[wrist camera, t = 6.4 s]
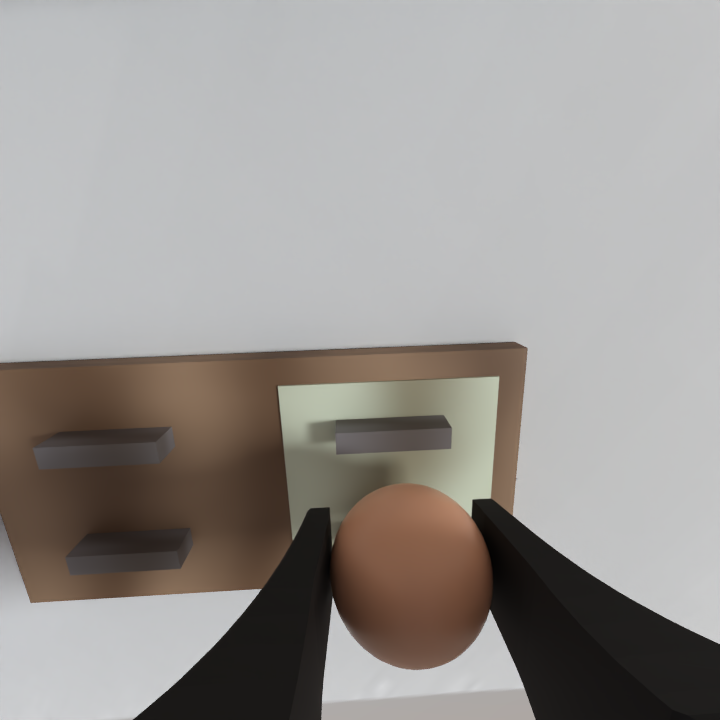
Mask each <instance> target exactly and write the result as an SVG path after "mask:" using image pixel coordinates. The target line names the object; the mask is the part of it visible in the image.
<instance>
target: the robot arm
mask: <svg viewBox="0 0 720 720" xmlns="http://www.w3.org/2000/svg"><path fill="white" fill-rule="evenodd" d="M471 518H472V519H473V520H474V522H475V523H476V525H477V527H478V528H479V530H480V532H481V534H482V536H483V538H484V540H485V543H486V545H487V548H488V551H489V555H490V559H491V564H492V570H493V594H492V602H491V606H490V610H491V612H492V614H493V617H494V619H495V621H496V623H497V626H498V628H499V630H500V632H501V634H502V637H503V639H504V641H505V643H506V645H507V648H508V650H509V652H510V654H511V657H512V659H513V661H514V663H515V665H516V668H517V670H518V673H519V675H520V678H521V680H522V682H523V685H524V688H525V691H526V693H527V696H528V699H529V702H530V705H531V707H532V710H533V713H534V716H535V718H536V720H720V644H718V643H716V642H714V641H712V640H709V639H707V638H705V637H703V636H701V635H699V634H697V633H695V632H692V631H690V630H688V629H686V628H684V627H682V626H680V625H678V624H676V623H674V622H672V621H670V620H668V619H666V618H664V617H663V616H661V615H659V614H657V613H655V612H653V611H652V610H650V609H648V608H646V607H644V606H642V605H641V604H639V603H637V602H635V601H633V600H632V599H630V598H628V597H626V596H625V595H623V594H621V593H619V592H618V591H616V590H615V589H613V588H611V587H610V586H608V585H607V584H605V583H603V582H602V581H600V580H599V579H597V578H595V577H594V576H592V575H591V574H589V573H588V572H586V571H585V570H583V569H582V568H580V567H579V566H577V565H576V564H575V563H573V562H572V561H570V560H569V559H568V558H566V557H565V556H563V555H562V554H561V553H559V552H558V551H556V550H555V549H554V548H552V547H551V546H550V545H548V544H547V543H546V542H545V541H543V540H542V539H541V538H539V537H538V536H537V535H536V534H534V533H533V532H532V531H531V530H529V529H528V528H527V527H526V526H524V525H523V524H522V523H521V522H520V521H518V520H517V519H516V518H515V517H514V516H512V515H511V514H510V513H509V512H508V511H506V510H505V509H504V508H503V507H501V506H500V505H499V504H498V503H497V502H495V501H494V500H493V499H491V498H489V499H472V515H471ZM331 552H332V534H331V518H330V507H324V508H310V509H309V510H308V511H307V513H306V516H305V518H304V520H303V522H302V524H301V526H300V528H299V530H298V532H297V534H296V536H295V538H294V540H293V542H292V543H291V545H290V547H289V548H288V550H287V552H286V553H285V555H284V557H283V558H282V560H281V562H280V563H279V565H278V566H277V568H276V569H275V571H274V572H273V574H272V575H271V577H270V578H269V580H268V581H267V583H266V584H265V585H264V587H263V588H262V590H261V591H260V592H259V594H258V595H257V596H256V598H255V599H254V600H253V601H252V603H251V604H250V605H249V607H248V608H247V609H246V610H245V612H244V613H243V614H242V615H241V616H240V617H239V619H238V620H237V621H236V622H235V623H234V624H233V625H232V627H231V628H230V629H229V630H228V631H227V632H226V634H225V635H224V636H223V637H222V638H221V639H220V640H219V641H218V642H217V643H216V644H215V645H214V646H213V648H212V649H211V650H210V651H209V652H207V653H206V654H205V655H204V656H203V657H202V658H201V659H200V660H199V661H198V662H197V663H196V664H195V665H194V666H193V667H192V668H191V669H190V670H189V671H188V672H187V673H186V674H185V675H184V676H183V677H182V678H181V679H180V680H179V681H178V682H177V683H176V684H174V685H173V686H172V687H171V688H170V689H169V690H168V691H166V692H165V693H164V694H163V695H162V696H161V697H159V698H158V699H157V700H156V701H155V702H154V703H152V704H151V705H150V706H149V707H148V708H146V709H145V710H144V711H143V712H142V713H141V714H139V715H138V716H137V717H136V718H135V719H133V720H321V710H322V691H323V678H324V669H325V660H326V651H327V642H328V633H329V624H330V615H331V606H332V597H333V594H332V588H331V582H330V559H331Z"/></svg>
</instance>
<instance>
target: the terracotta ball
mask: <svg viewBox="0 0 720 720" xmlns="http://www.w3.org/2000/svg"><path fill="white" fill-rule="evenodd" d="M330 582H331V588H332V594H333V598H334V601H335V604H336V607H337V610H338V613H339V615H340V617H341V619H342V621H343V623H344V624H345V626H346V628H347V630H348V631H349V632H350V634H351V635H352V636H353V637H354V639H355V640H356V641H357V642H358V643H359V644H360V645H361V646H362V647H363V648H364V649H365V650H366V651H368V652H369V653H370V654H372V655H373V656H374V657H376V658H377V659H379V660H381V661H383V662H385V663H388V664H390V665H393V666H395V667H399V668H403V669H411V670H422V669H430V668H434V667H438V666H441V665H444V664H446V663H448V662H450V661H452V660H454V659H455V658H457V657H458V656H460V655H461V654H462V653H463V652H464V651H465V650H466V649H467V648H468V647H469V646H470V645H471V644H472V643H473V642H474V641H475V639H476V638H477V636H478V635H479V633H480V632H481V630H482V628H483V626H484V624H485V622H486V619H487V616H488V613H489V610H490V606H491V602H492V594H493V570H492V564H491V559H490V555H489V551H488V548H487V545H486V543H485V540H484V538H483V536H482V534H481V532H480V530H479V528H478V527H477V525H476V523H475V522H474V520H473V519H472V518H471V517H470V515H469V514H468V513H467V512H466V511H465V510H464V509H463V508H462V507H461V506H460V505H459V504H458V503H457V502H456V501H454V500H453V499H452V498H450V497H449V496H447V495H446V494H444V493H442V492H440V491H438V490H436V489H433V488H431V487H428V486H424V485H420V484H413V483H400V484H392V485H388V486H385V487H382V488H379V489H377V490H375V491H373V492H371V493H369V494H368V495H366V496H365V497H363V498H362V499H361V500H360V501H359V502H357V503H356V505H355V506H354V507H353V508H352V509H351V510H350V511H349V512H348V514H347V515H346V517H345V518H344V520H343V521H342V523H341V525H340V527H339V529H338V531H337V534H336V537H335V540H334V543H333V546H332V552H331V559H330Z"/></svg>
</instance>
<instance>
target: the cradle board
mask: <svg viewBox="0 0 720 720" xmlns="http://www.w3.org/2000/svg"><path fill="white" fill-rule="evenodd" d="M527 349H528V348H526V347H524V346H522V345H520V344H518V343H516V342H506V343H481V344H457V345H433V346H408V347H384V348H360V349H335V350H311V351H286V352H262V353H238V354H213V355H189V356H164V357H140V358H116V359H91V360H67V361H42V362H18V363H0V513H1V516H2V519H3V522H4V525H5V528H6V531H7V534H8V537H9V540H10V543H11V546H12V549H13V552H14V555H15V558H16V561H17V564H18V566H19V569H20V572H21V575H22V578H23V581H24V584H25V587H26V590H27V593H28V596H29V599H30V602H31V603H36V602H52V601H68V600H85V599H101V598H118V597H134V596H150V595H167V594H183V593H200V592H216V591H232V590H249V589H262V588H263V587H264V585H265V584H266V583H267V581H268V580H269V578H270V577H271V575H272V574H273V572H274V571H275V569H276V568H277V566H278V565H279V563H280V562H281V560H282V558H283V557H284V555H285V553H286V552H287V550H288V548H289V547H290V545H291V543H292V542H293V540H294V538H295V536H296V534H297V532H298V530H299V528H300V526H301V524H302V522H303V520H304V518H305V516H306V513H307V511H308V510H309V509H310V508H324V507H330V518H331V534H332V546H333V543H334V540H335V537H336V534H337V531H338V529H339V527H340V525H341V523H342V521H343V520H344V518H345V517H346V515H347V514H348V512H349V511H350V510H351V509H352V508H353V507H354V506H355V505H356V503H357V502H359V501H360V500H361V499H362V498H363V497H365V496H366V495H368V494H369V493H371V492H373V491H375V490H377V489H379V488H382V487H385V486H388V485H392V484H400V483H413V484H420V485H424V486H428V487H431V488H433V489H436V490H438V491H440V492H442V493H444V494H446V495H447V496H449V497H450V498H452V499H453V500H454V501H456V502H457V503H458V504H459V505H460V506H461V507H462V508H463V509H464V510H465V511H466V512H467V513H468V514H469V515H470V517H471V515H472V499H489V498H491V499H493V500H494V501H495V502H497V503H498V504H499V505H500V506H501V507H503V508H504V509H505V510H506V511H508V512H509V513H510V514H511V515H513V504H514V493H515V482H516V471H517V460H518V449H519V438H520V427H521V416H522V404H523V393H524V382H525V371H526V360H527Z"/></svg>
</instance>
